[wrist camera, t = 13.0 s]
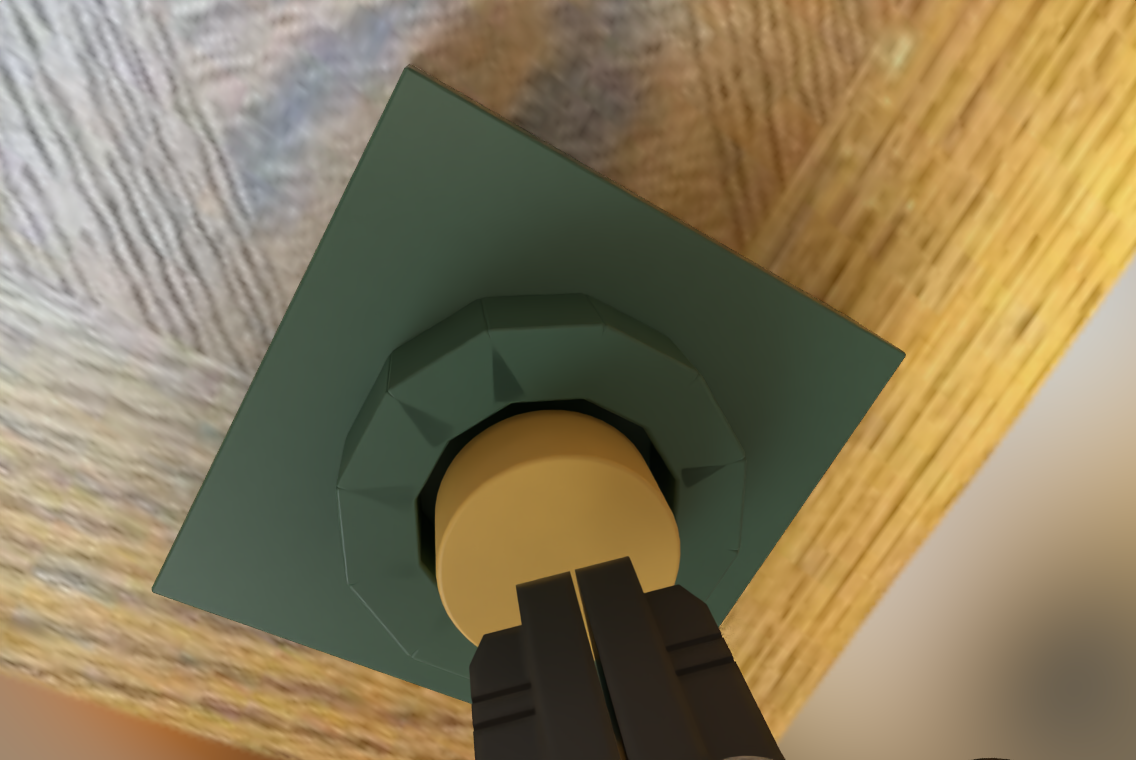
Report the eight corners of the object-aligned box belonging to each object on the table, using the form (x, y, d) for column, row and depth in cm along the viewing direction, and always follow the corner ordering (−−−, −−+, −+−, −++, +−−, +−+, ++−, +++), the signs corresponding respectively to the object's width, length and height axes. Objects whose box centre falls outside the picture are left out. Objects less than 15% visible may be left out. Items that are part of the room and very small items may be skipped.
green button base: (608, 688, 20) (648, 830, 17) (181, 529, 17) (115, 658, 14) (853, 320, 18) (965, 389, 14) (408, 62, 15) (402, 67, 11)
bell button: (585, 631, 15) (603, 699, 14) (395, 557, 14) (392, 622, 13) (693, 463, 14) (728, 514, 13) (501, 370, 13) (512, 414, 12)
